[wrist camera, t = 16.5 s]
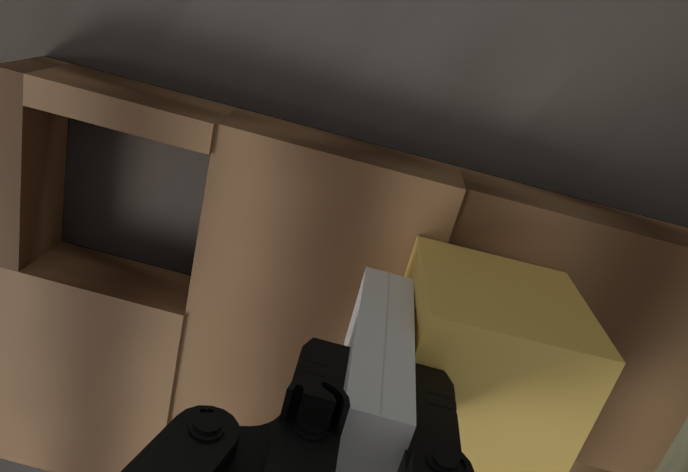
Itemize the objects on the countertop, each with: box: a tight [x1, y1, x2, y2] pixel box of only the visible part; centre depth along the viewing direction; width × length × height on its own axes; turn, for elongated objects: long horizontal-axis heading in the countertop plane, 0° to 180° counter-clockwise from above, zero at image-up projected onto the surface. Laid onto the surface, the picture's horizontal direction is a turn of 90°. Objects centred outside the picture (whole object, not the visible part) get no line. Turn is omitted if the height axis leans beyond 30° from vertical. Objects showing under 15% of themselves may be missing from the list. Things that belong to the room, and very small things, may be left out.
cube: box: [404, 236, 626, 472], centre depth 18 cm, size 5×5×5 cm
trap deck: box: [0, 56, 688, 472], centre depth 21 cm, size 26×16×6 cm, turn 76°
